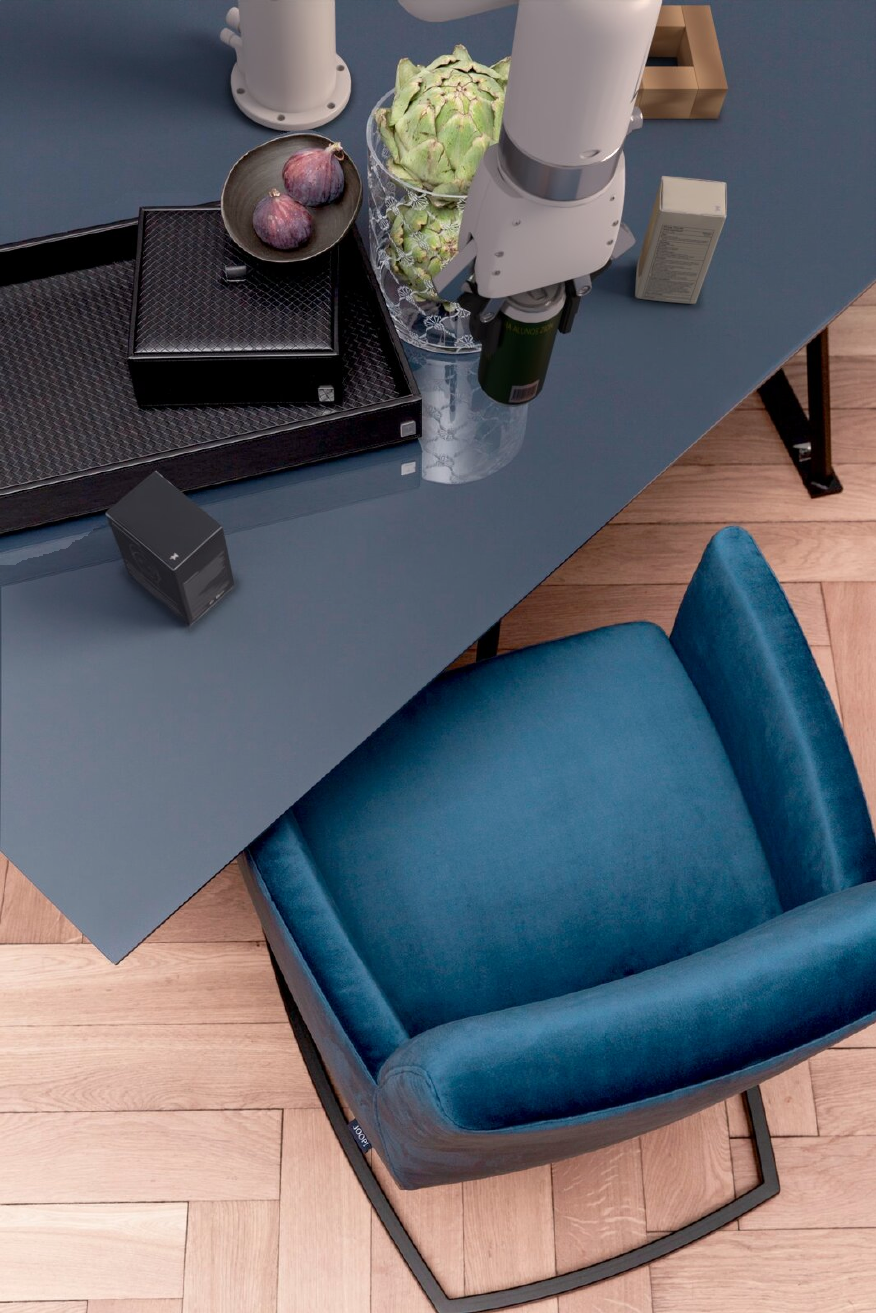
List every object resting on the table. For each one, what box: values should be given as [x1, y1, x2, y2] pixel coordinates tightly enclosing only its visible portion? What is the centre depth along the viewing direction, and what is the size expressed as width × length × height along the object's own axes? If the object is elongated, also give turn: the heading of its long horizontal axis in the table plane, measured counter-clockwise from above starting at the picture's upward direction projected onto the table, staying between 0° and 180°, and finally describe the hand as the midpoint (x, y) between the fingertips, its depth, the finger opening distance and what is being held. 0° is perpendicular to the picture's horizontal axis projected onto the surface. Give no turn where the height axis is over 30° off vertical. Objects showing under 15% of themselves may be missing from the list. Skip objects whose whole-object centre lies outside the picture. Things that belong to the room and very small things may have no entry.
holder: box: [634, 4, 729, 120], centre depth 131 cm, size 12×12×4 cm
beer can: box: [477, 281, 566, 408], centre depth 91 cm, size 5×5×12 cm
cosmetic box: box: [634, 175, 728, 305], centre depth 116 cm, size 6×4×12 cm
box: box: [105, 470, 235, 627], centre depth 100 cm, size 8×6×11 cm
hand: (521, 327), depth 90 cm, fingers closed on beer can, 5 cm apart
